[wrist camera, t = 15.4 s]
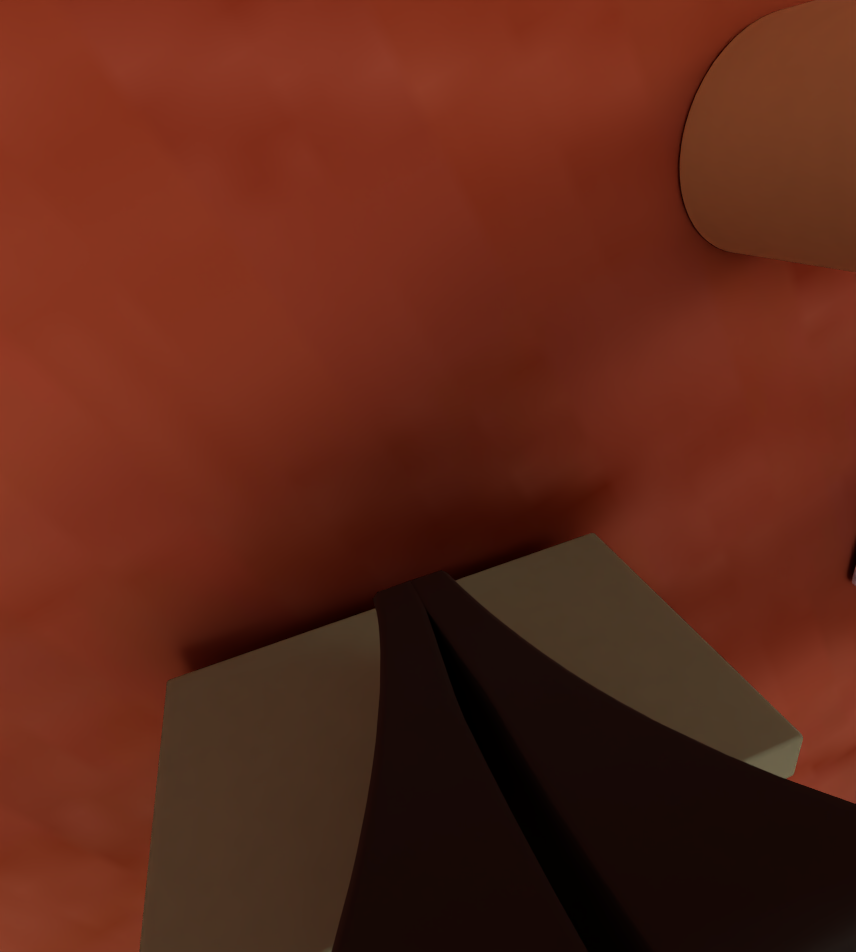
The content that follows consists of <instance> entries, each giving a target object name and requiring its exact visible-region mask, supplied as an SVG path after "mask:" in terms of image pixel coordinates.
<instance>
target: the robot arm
mask: <svg viewBox="0 0 856 952" xmlns="http://www.w3.org/2000/svg"><path fill="white" fill-rule="evenodd" d="M852 583H853V585H855V586H856V566H855V569H854V573H853V577H852ZM373 602H374V605H375V609H376V612H377V618H378V625H379V637H380V694H379V707H378V719H377V731H376V742H375V750H374V758H373V765H372V772H371V779H370V785H369V791H368V797H367V803H366V808H365V813H364V818H363V823H362V828H361V833H360V838H359V843H358V848H357V853H356V857H355V862H354V866H353V871H352V875H351V879H350V883H349V887H348V891H347V895H346V899H345V902H344V906H343V910H342V914H341V917H340V921H339V925H338V929H337V932H336V936H335V940H334V944H333V948H332V951H331V952H856V804H854V803H851V802H849V801H846V800H843V799H840V798H837V797H834V796H832V795H829V794H826V793H823V792H820V791H818V790H815V789H812V788H809V787H806V786H804V785H801V784H798V783H795V782H792V781H790V780H787V779H785V778H782V777H779V776H777V775H774V774H772V773H770V772H767V771H765V770H762V769H760V768H758V767H755V766H753V765H750V764H748V763H746V762H743V761H741V760H738V759H736V758H734V757H731V756H729V755H727V754H724V753H722V752H720V751H718V750H716V749H714V748H712V747H710V746H707V745H705V744H703V743H701V742H699V741H697V740H695V739H693V738H690V737H688V736H686V735H684V734H682V733H680V732H678V731H676V730H674V729H671V728H669V727H667V726H665V725H663V724H661V723H659V722H657V721H655V720H653V719H651V718H649V717H647V716H646V715H644V714H642V713H640V712H638V711H636V710H634V709H633V708H631V707H629V706H627V705H625V704H623V703H622V702H620V701H618V700H616V699H615V698H613V697H611V696H609V695H608V694H606V693H604V692H603V691H601V690H599V689H597V688H596V687H594V686H592V685H591V684H589V683H588V682H586V681H584V680H583V679H581V678H580V677H578V676H577V675H575V674H573V673H572V672H570V671H569V670H567V669H566V668H564V667H563V666H561V665H560V664H558V663H557V662H556V661H554V660H553V659H551V658H550V657H548V656H547V655H545V654H544V653H542V652H541V651H540V650H538V649H537V648H536V647H534V646H533V645H531V644H530V643H529V642H527V641H526V640H525V639H523V638H522V637H521V636H520V635H518V634H517V633H516V632H514V631H513V630H512V629H510V628H509V627H508V626H507V625H505V624H504V623H503V622H501V621H500V620H499V619H498V618H497V617H495V616H494V615H493V614H492V613H490V612H489V611H488V610H487V609H486V608H485V607H483V606H482V605H481V604H480V603H479V602H478V601H477V600H475V599H474V598H473V597H472V596H471V595H470V594H469V593H468V592H467V591H465V590H464V589H463V588H462V587H461V586H460V585H459V584H458V583H457V582H456V581H455V580H454V579H453V578H452V577H451V576H450V575H449V574H448V573H446V572H444V571H442V570H441V571H438V572H435V573H432V574H429V575H426V576H423V577H420V578H417V579H414V580H411V581H408V582H405V583H402V584H400V585H397V586H394V587H391V588H388V589H385V590H382V591H379V592H377V594H376V595H375V596H374V598H373Z"/></svg>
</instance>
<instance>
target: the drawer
mask: <svg viewBox="0 0 856 952" xmlns="http://www.w3.org/2000/svg"><path fill="white" fill-rule="evenodd" d="M455 581H456V582H457V583H458V584H459V585H460V586H461V587H462V588H463V589H464V590H465V591H467V592H468V593H469V594H470V595H471V596H472V597H473V598H474V599H475V600H477V601H478V602H479V603H480V604H481V605H482V606H483V607H485V608H486V609H487V610H488V611H489V612H490V613H492V614H493V615H494V616H495V617H497V618H498V619H499V620H500V621H501V622H503V623H504V624H505V625H507V626H508V627H509V628H510V629H512V630H513V631H514V632H516V633H517V634H518V635H520V636H521V637H522V638H523V639H525V640H526V641H527V642H529V643H530V644H531V645H533V646H534V647H536V648H537V649H538V650H540V651H541V652H542V653H544V654H545V655H547V656H548V657H550V658H551V659H553V660H554V661H556V662H557V663H558V664H560V665H561V666H563V667H564V668H566V669H567V670H569V671H570V672H572V673H573V674H575V675H577V676H578V677H580V678H581V679H583V680H584V681H586V682H588V683H589V684H591V685H592V686H594V687H596V688H597V689H599V690H601V691H603V692H604V693H606V694H608V695H609V696H611V697H613V698H615V699H616V700H618V701H620V702H622V703H623V704H625V705H627V706H629V707H631V708H633V709H634V710H636V711H638V712H640V713H642V714H644V715H646V716H647V717H649V718H651V719H653V720H655V721H657V722H659V723H661V724H663V725H665V726H667V727H669V728H671V729H674V730H676V731H678V732H680V733H682V734H684V735H686V736H688V737H690V738H693V739H695V740H697V741H699V742H701V743H703V744H705V745H707V746H710V747H712V748H714V749H716V750H718V751H720V752H722V753H724V754H727V755H729V756H731V757H734V758H736V759H738V760H741V761H743V762H746V763H748V764H750V765H753V766H755V767H758V768H760V769H762V770H765V771H767V772H770V773H772V774H774V775H777V776H779V777H782V778H785V779H786V778H788V777H790V776H792V775H793V774H794V771H795V767H796V763H797V759H798V755H799V752H800V748H801V744H802V740H803V737H802V735H801V733H800V732H799V731H798V730H797V729H796V728H795V727H794V726H792V725H791V724H790V723H789V722H788V721H787V720H786V719H785V718H784V717H783V716H782V715H781V714H780V713H779V712H778V711H777V710H776V709H775V708H774V707H773V706H772V705H771V704H770V703H769V702H768V701H767V700H766V699H765V698H764V697H763V696H762V695H761V694H759V693H758V692H757V691H756V690H755V689H754V688H753V687H752V686H751V685H750V684H749V683H748V682H747V681H746V680H745V679H744V678H743V677H742V676H741V675H740V674H739V673H738V672H737V671H736V670H735V669H734V668H733V667H732V666H731V665H730V664H729V663H728V662H727V661H725V660H724V659H723V658H722V657H721V656H720V655H719V654H718V653H717V652H716V651H715V650H714V649H713V648H712V647H711V646H710V645H709V644H708V643H707V642H706V641H705V640H704V639H703V638H702V637H701V636H700V635H699V634H698V633H697V632H696V631H695V630H694V629H692V628H691V627H690V626H689V625H688V624H687V623H686V622H685V621H684V620H683V619H682V618H681V617H680V616H679V615H678V614H677V613H676V612H675V611H674V610H673V609H672V608H671V607H670V606H669V605H668V604H667V603H666V602H665V601H664V600H663V599H662V598H661V597H659V596H658V595H657V594H656V593H655V592H654V591H653V590H652V589H651V588H650V587H649V586H648V585H647V584H646V583H645V582H644V581H643V580H642V579H641V578H640V577H639V576H638V575H637V574H636V573H635V572H634V571H633V570H632V569H631V568H630V567H629V566H628V565H626V564H625V563H624V562H623V561H622V560H621V559H620V558H619V557H618V556H617V555H616V554H615V553H614V552H613V551H612V550H611V549H610V548H609V547H608V546H607V545H606V544H605V543H604V542H603V541H602V540H601V539H600V538H599V537H598V536H597V535H596V534H595V533H590V534H587V535H584V536H581V537H578V538H576V539H573V540H570V541H567V542H564V543H561V544H558V545H555V546H553V547H550V548H547V549H544V550H541V551H538V552H535V553H532V554H530V555H527V556H524V557H521V558H518V559H515V560H512V561H509V562H507V563H504V564H501V565H498V566H495V567H492V568H489V569H486V570H484V571H481V572H478V573H475V574H472V575H469V576H466V577H463V578H461V579H458V580H455ZM379 694H380V637H379V625H378V618H377V612H376V609H375V608H374V609H371V610H369V611H366V612H363V613H360V614H357V615H354V616H351V617H348V618H346V619H343V620H340V621H337V622H334V623H331V624H328V625H325V626H323V627H320V628H317V629H314V630H311V631H308V632H305V633H302V634H300V635H297V636H294V637H291V638H288V639H285V640H282V641H279V642H277V643H274V644H271V645H268V646H265V647H262V648H259V649H256V650H254V651H251V652H248V653H245V654H242V655H239V656H236V657H233V658H231V659H228V660H225V661H222V662H219V663H216V664H213V665H210V666H208V667H205V668H202V669H199V670H196V671H193V672H190V673H187V674H185V675H182V676H179V677H176V678H173V679H170V680H169V681H168V682H167V688H166V697H165V707H164V717H163V727H162V736H161V746H160V756H159V766H158V776H157V785H156V795H155V805H154V815H153V825H152V834H151V844H150V854H149V864H148V874H147V883H146V893H145V903H144V913H143V922H142V932H141V942H140V952H331V951H332V948H333V944H334V940H335V936H336V932H337V929H338V925H339V921H340V917H341V914H342V910H343V906H344V902H345V899H346V895H347V891H348V887H349V883H350V879H351V875H352V871H353V866H354V862H355V857H356V853H357V848H358V843H359V838H360V833H361V828H362V823H363V818H364V813H365V808H366V803H367V797H368V791H369V785H370V779H371V772H372V765H373V758H374V750H375V742H376V731H377V719H378V707H379Z"/></svg>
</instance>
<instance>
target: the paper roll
mask: <svg viewBox="0 0 856 952" xmlns="http://www.w3.org/2000/svg"><path fill="white" fill-rule="evenodd" d="M680 184H681V192H682V197H683V201H684V205H685V208H686V210H687V213H688V216H689V218H690V219H691V221H692V223H693V225H694V227H695V228H696V229H697V231H698V232H699V233H700V234H701V236H702V237H704V238H705V239H706V240H707V241H708V242H709V243H711V244H712V245H714V246H715V247H717V248H719V249H722V250H725V251H727V252H733V253H739V254H745V255H752V256H758V257H764V258H770V259H776V260H783V261H789V262H795V263H801V264H807V265H814V266H820V267H826V268H832V269H838V270H845V271H851V272H856V0H814V1H811V2H807V3H804V4H800V5H797V6H793V7H790V8H786V9H783V10H779V11H776V12H773V13H771V14H768V15H766V16H764V17H762V18H760V19H759V20H757V21H755V22H754V23H752V24H751V25H749V26H748V27H747V28H746V29H744V30H743V31H742V32H741V33H740V34H738V35H737V36H736V37H735V38H734V39H733V40H732V41H731V42H730V43H729V45H728V46H727V47H726V48H725V49H724V50H723V51H722V52H721V54H720V55H719V56H718V58H717V59H716V60H715V62H714V63H713V64H712V66H711V68H710V69H709V71H708V73H707V74H706V76H705V77H704V79H703V81H702V83H701V85H700V87H699V89H698V91H697V93H696V95H695V98H694V101H693V103H692V106H691V108H690V111H689V114H688V118H687V121H686V125H685V128H684V133H683V138H682V143H681V152H680Z"/></svg>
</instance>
